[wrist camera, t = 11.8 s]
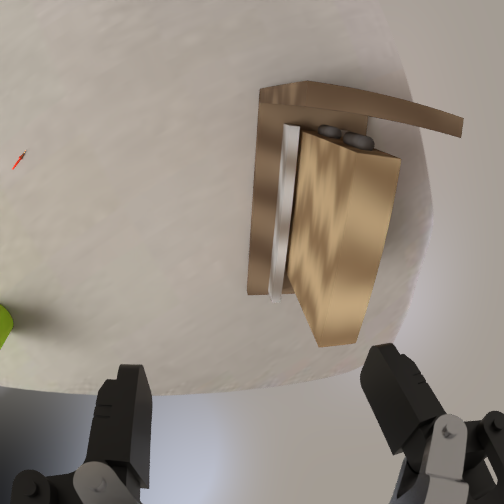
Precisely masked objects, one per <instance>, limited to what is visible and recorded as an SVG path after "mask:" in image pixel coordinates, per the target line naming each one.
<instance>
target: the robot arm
mask: <svg viewBox="0 0 504 504" xmlns="http://www.w3.org/2000/svg"><path fill="white" fill-rule="evenodd" d="M360 382H361V387H362V389H363V391H364V393H365V395H366V397H367V399H368V402H369V404H370V406H371V408H372V410H373V412H374V414H375V416H376V419H377V420H378V423H379V425H380V427H381V430H382V432H383V434H384V436H385V438H386V440H387V443H388V445H389V447H390V449H391V452H392V454H393V455H395V454H398V453H402V452H404V454H405V456H406V457H405V458H404V460H403V463H402V466H401V470H400V473H399V476H398V480H397V483H396V486H395V489H394V492H393V496H392V498H391V500H390V503H389V504H504V414H503V413H501V412H499V411H491V412H489V413H488V414H487V415H486V416H485V417H484V418H483V419H482V420H479V421H468V422H463V420H462V419H460V418H459V417H457V416H455V415H452V414H447V413H446V412H445V411H444V409H443V408H442V406H441V404H440V402H439V401H438V399H437V398H436V396H435V394H434V393H433V391H432V389H431V388H430V386H429V385H428V383H426V380H425V378H424V377H423V375H421V372H420V371H419V369H418V367H417V366H416V364H415V363H414V362H413V361H412V360H411V359H410V358H408V357H407V356H406V355H405V354H401V355H400V353H399V352H398V350H397V349H396V347H395V346H394V345H393V344H392V343H387V344H381V345H376V346H372V347H371V348H370V350H369V353H368V356H367V358H366V361H365V363H364V366H363V368H362V371H361V374H360ZM151 421H152V395H151V390H150V387H149V384H148V381H147V377H146V374H145V371H144V367H143V365H129V364H121V365H120V366H119V370H118V375H117V380H111V379H107V380H106V381H105V382H104V384H103V385H102V387H101V388H100V389H99V391H98V395H97V400H96V407H95V410H94V418H93V420H92V426H91V431H90V437H89V443H88V449H87V456H86V459H85V461H84V463H83V464H82V465H81V466H80V467H79V468H78V469H77V470H76V471H74V472H72V473H69V474H63V475H56V476H47V477H45V476H44V475H42V474H41V473H40V472H38V471H35V470H24V471H22V472H20V473H19V474H18V475H17V476H16V477H15V479H14V481H13V487H12V494H11V502H10V504H142V503H141V501H140V488H147V489H149V469H150V467H149V466H150V440H151ZM486 457H488V459H489V461H490V463H491V465H492V467H493V470H494V472H495V474H496V476H497V479H498V482H497V485H496V484H495V483H494V481H493V478H492V476H491V474H490V472H489V470H488V468H487V466H486V464H485V461H484V459H485V458H486Z"/></svg>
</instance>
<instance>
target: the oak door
mask: <svg viewBox="0 0 504 504" xmlns="http://www.w3.org/2000/svg"><path fill="white" fill-rule="evenodd" d="M341 136H342V133H341V130H340V129H339V128H336V127H332V126H329V125H325V124H322V125H320V126H319V127H318V131H308V130H300V131H299V142H298V153H297V163H296V173H295V183H294V192H293V202H292V211H291V220H290V229H289V237H288V246H287V254H286V262H285V271H286V274H287V276H288V278H289V280H290V282H291V285H292V287H293V289H294V291H295V294H296V296H297V298H298V301H299V303H300V305H301V307H302V310H303V312H304V314H305V316H306V319H307V321H308V323H309V326H310V328H311V330H312V333H313V335H314V337H315V339H316V342H317V344H318V346H319V347H328V346H337V345H345V344H353V343H356V341H357V338H358V335H359V332H360V328H361V325H362V322H363V319H364V316H365V313H366V309H367V306H368V303H369V300H370V296H371V293H372V289H373V286H374V282H375V279H376V275H377V271H378V267H379V264H380V260H381V256H382V252H383V248H384V244H385V239H386V235H387V231H388V226H389V222H390V217H391V213H392V208H393V203H394V198H395V193H396V187H397V182H398V176H399V171H400V165H401V159H400V158H397V157H395V156H392V155H390V154H387V153H385V152H382V151H379V150H377V149H374V141H373V139H372V138H370V137H367V136H364V135H361V134H357V133H354V132H346V133H345V134H344V136H343V137H341Z"/></svg>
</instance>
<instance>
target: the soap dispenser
mask: <svg viewBox="0 0 504 504" xmlns="http://www.w3.org/2000/svg"><path fill="white" fill-rule="evenodd" d="M12 329H13V319H12V317H11V315H10V313H9V312H8V311H7V310H6V309H5V308H4V307H3V306H2V305H0V349H1V347H2V346H3V344H4V342H5V340H6V339H7V337H8V335H9V334H10V332H11V330H12Z"/></svg>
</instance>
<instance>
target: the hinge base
mask: <svg viewBox="0 0 504 504" xmlns="http://www.w3.org/2000/svg"><path fill="white" fill-rule="evenodd" d="M368 116H370V117H376V118H381V119H386V120H391V121H396V122H400V123H405V124H409V125H414V126H418V127H422V128H426V129H430V130H434V131H438V132H442V133H445V134H449V135H452V136H456V137H459V138H461V135H462V127H463V119H464V118H461V117H459V116H455V115H453V114H450V113H447V112H444V111H441V110H437V109H434V108H431V107H428V106H424V105H421V104H417V103H414V102H410V101H406V100H403V99H399V98H395V97H391V96H387V95H382V94H378V93H374V92H369V91H364V90H359V89H354V88H349V87H344V86H338V85H332V84H326V83H320V82H313V81H302V82H296V83H289V84H284V85H278V86H272V87H267V88H262V89H260V94H259V109H258V124H257V140H256V155H255V171H254V186H253V202H252V217H251V233H250V249H249V265H248V281H247V293H248V295H268V294H269V295H270V298H271V301H272V303H280V301H281V294H294V293H295V291H294V289H293V287H292V285H291V282H290V280H289V278H288V276H287V274H286V271H285V262H286V254H287V246H288V237H289V229H290V220H291V211H292V202H293V192H294V183H295V173H296V163H297V153H298V142H299V131H300V130H308V131H318V127H319V126H320V125H322V124H325V125H329V126H332V127H336V128H339V129H340V130H341V133H342V136H341V137H343V136H344V134H345V133H346V132H354V133H357V134H361V135H364V136H366V131H367V122H368Z"/></svg>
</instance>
